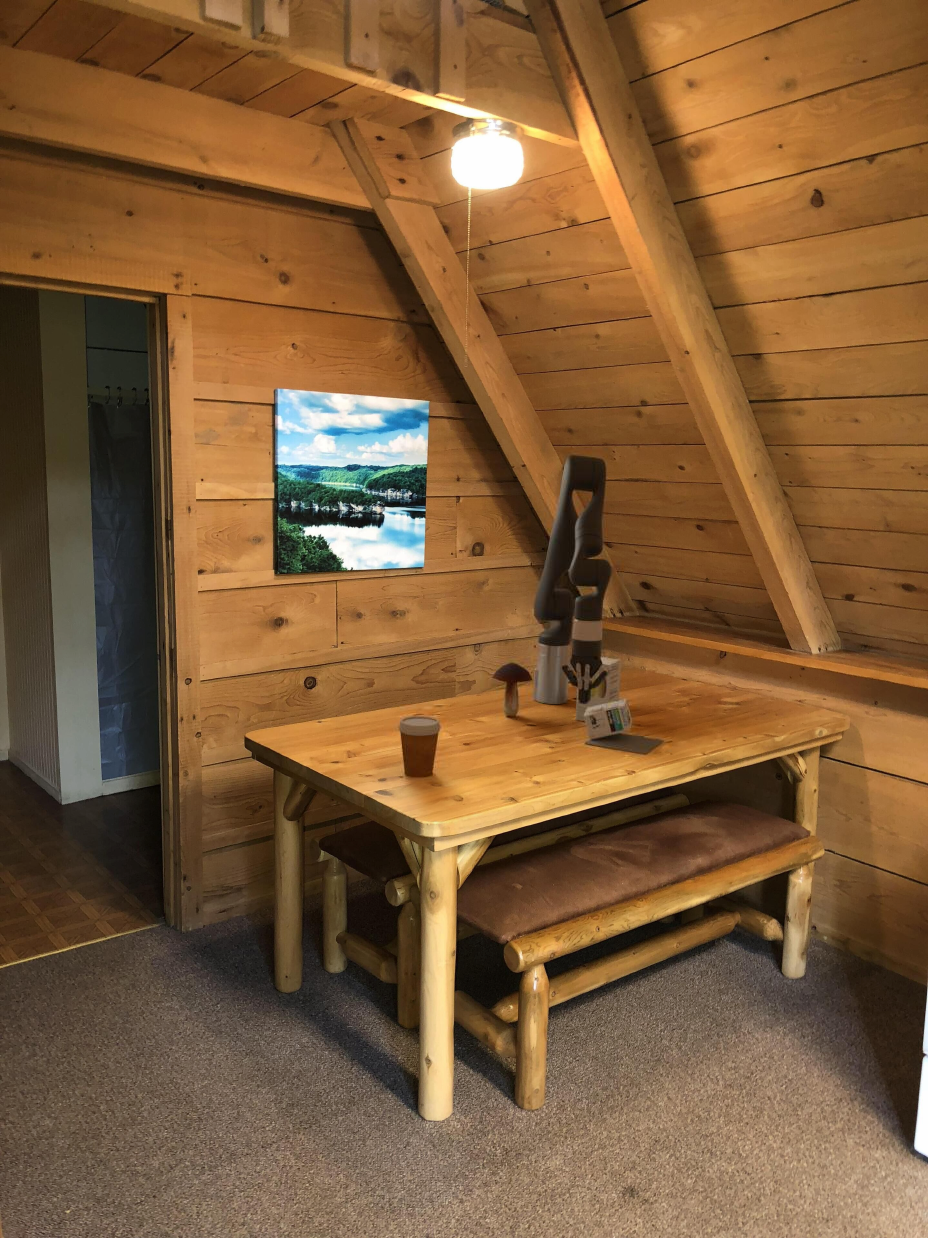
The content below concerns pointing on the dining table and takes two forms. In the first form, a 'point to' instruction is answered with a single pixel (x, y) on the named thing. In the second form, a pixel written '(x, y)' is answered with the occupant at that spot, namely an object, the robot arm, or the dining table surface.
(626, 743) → the mat
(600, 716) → the light bulb box
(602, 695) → the supplement box
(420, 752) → the disposable coffee cup
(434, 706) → the dining table surface
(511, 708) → the decorative mushroom
